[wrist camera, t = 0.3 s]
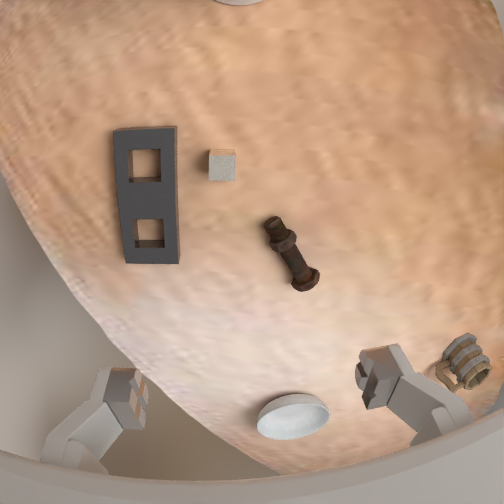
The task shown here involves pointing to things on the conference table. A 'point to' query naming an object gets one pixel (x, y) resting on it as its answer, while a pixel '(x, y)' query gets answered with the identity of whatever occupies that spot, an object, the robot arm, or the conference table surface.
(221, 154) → the wood grain block
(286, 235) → the bolt
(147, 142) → the grey slotted board
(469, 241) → the conference table surface
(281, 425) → the serving bowl
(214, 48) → the conference table surface
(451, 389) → the tankard
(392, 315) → the conference table surface
